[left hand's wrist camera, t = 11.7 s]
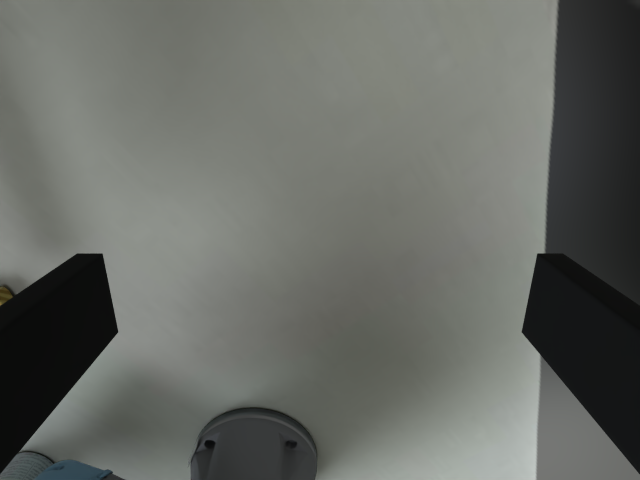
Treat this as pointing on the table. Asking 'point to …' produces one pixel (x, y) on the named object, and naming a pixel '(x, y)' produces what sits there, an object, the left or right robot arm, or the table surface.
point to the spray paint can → (25, 467)
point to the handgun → (4, 295)
